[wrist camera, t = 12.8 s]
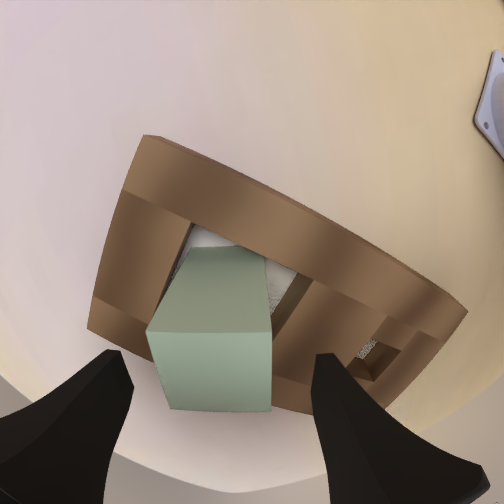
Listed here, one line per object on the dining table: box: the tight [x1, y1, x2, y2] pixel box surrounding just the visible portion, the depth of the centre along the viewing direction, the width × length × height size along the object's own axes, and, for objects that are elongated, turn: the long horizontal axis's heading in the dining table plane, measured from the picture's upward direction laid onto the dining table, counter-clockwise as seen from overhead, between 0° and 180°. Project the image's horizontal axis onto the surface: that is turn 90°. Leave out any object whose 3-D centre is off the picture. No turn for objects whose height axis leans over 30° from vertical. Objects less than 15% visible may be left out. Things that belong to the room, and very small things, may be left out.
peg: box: [145, 246, 272, 412], centre depth 13 cm, size 4×4×8 cm
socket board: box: [87, 135, 468, 415], centre depth 16 cm, size 22×12×2 cm, turn 63°
